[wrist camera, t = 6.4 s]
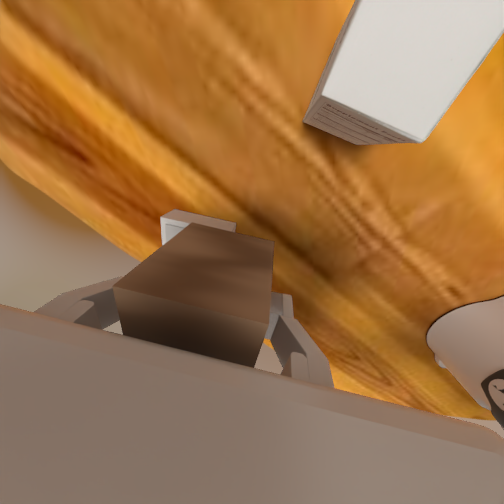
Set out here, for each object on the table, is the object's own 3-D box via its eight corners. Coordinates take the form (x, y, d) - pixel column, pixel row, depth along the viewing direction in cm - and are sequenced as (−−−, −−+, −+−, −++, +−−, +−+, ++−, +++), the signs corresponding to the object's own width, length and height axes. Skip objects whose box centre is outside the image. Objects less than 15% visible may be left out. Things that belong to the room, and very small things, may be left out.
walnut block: (274, 241, 11) (269, 324, 6) (257, 303, 13) (242, 401, 8) (191, 222, 11) (112, 286, 6) (189, 286, 13) (131, 372, 8)
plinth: (236, 223, 29) (229, 233, 25) (228, 274, 34) (222, 289, 30) (174, 209, 29) (159, 217, 26) (176, 261, 34) (163, 275, 31)
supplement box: (335, 37, 18) (414, -130, 7) (401, 70, 19) (568, -43, 8) (299, 122, 22) (317, 94, 11) (355, 148, 22) (427, 145, 11)
